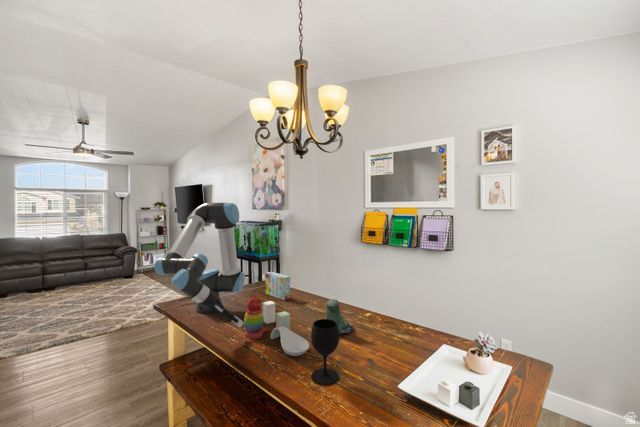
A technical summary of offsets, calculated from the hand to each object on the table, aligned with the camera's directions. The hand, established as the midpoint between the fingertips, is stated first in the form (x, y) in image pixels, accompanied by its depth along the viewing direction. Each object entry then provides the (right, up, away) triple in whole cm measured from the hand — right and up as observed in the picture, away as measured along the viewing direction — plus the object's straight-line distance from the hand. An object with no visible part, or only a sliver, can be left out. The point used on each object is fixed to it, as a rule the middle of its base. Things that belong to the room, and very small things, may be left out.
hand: (241, 324), depth 141 cm
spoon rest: (+23, -7, -9) cm, 26 cm away
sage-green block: (+19, -6, +4) cm, 21 cm away
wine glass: (+39, -8, -31) cm, 51 cm away
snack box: (+8, -4, +60) cm, 61 cm away
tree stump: (+45, -6, +10) cm, 47 cm away
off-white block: (+10, -5, +19) cm, 22 cm away
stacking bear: (+5, -6, +4) cm, 9 cm away
